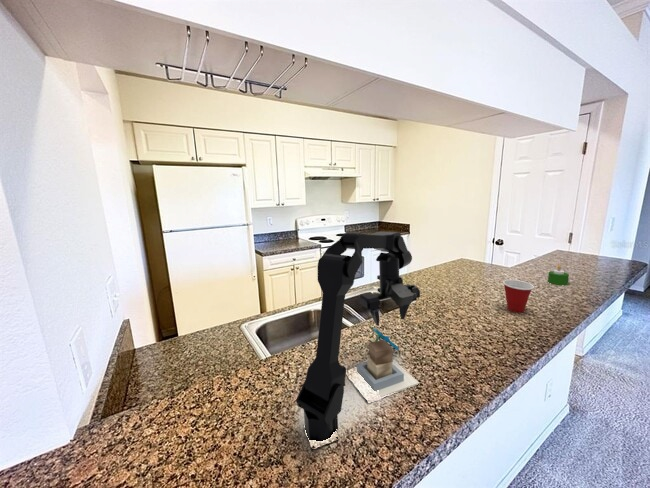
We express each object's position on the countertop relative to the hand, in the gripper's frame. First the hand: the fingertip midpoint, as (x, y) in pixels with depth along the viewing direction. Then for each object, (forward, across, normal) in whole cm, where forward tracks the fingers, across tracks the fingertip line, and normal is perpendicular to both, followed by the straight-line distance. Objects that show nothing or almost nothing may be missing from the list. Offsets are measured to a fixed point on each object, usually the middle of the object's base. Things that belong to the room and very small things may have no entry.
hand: (390, 322), depth 84 cm
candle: (+15, +121, +18) cm, 123 cm away
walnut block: (+7, -7, -6) cm, 11 cm away
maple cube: (+12, -8, -6) cm, 16 cm away
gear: (+13, +2, +6) cm, 15 cm away
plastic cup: (+14, +69, +6) cm, 70 cm away
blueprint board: (+13, -8, -6) cm, 16 cm away
